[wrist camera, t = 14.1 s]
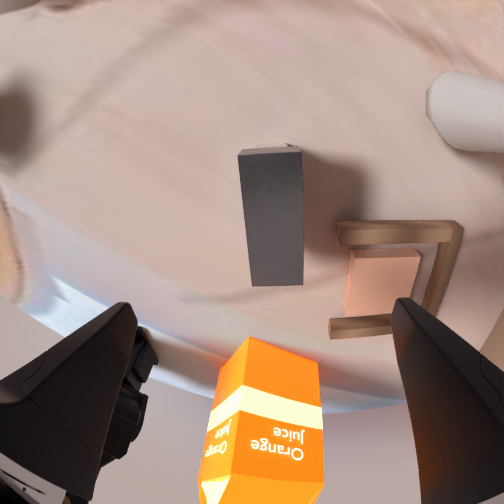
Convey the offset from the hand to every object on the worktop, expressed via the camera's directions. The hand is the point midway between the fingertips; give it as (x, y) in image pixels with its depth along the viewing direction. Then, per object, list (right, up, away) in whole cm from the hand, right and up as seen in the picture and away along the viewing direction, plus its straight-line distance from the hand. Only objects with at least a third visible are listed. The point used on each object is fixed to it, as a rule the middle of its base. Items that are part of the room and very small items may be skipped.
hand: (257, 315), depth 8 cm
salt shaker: (+14, +13, +6) cm, 20 cm away
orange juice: (+2, -11, +21) cm, 24 cm away
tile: (+11, 0, +14) cm, 18 cm away
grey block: (+2, +6, +11) cm, 13 cm away
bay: (+12, 0, +13) cm, 18 cm away
